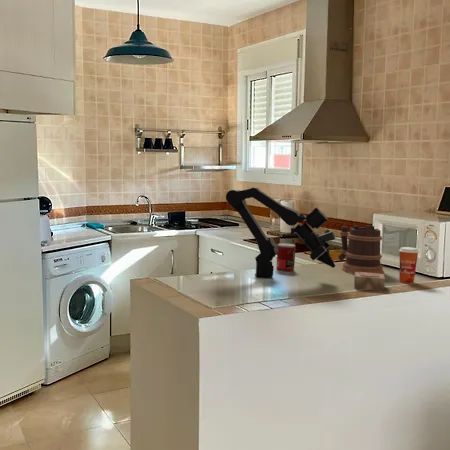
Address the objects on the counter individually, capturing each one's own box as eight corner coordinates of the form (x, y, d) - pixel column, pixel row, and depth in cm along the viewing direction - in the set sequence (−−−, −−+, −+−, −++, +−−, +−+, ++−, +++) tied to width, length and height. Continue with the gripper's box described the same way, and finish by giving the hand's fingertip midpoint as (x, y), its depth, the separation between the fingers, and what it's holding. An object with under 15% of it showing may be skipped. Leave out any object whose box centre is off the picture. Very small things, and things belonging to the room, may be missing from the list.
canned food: (288, 271, 251) (289, 246, 250) (272, 269, 256) (274, 244, 255) (297, 269, 257) (298, 245, 256) (282, 267, 262) (283, 242, 261)
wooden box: (355, 275, 222) (385, 277, 220) (354, 271, 232) (383, 273, 230) (354, 289, 223) (384, 291, 221) (354, 284, 233) (382, 286, 230)
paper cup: (395, 282, 239) (397, 248, 237) (398, 279, 245) (401, 246, 244) (414, 284, 235) (417, 250, 233) (418, 281, 242) (420, 248, 240)
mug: (351, 264, 278) (354, 222, 275) (392, 272, 260) (395, 228, 258) (325, 267, 266) (328, 223, 264) (366, 276, 248) (369, 229, 246)
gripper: (321, 225, 220) (348, 257, 218) (326, 221, 238) (352, 250, 236) (298, 244, 223) (325, 275, 221) (306, 238, 241) (330, 267, 239)
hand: (334, 266), depth 229 cm, fingers closed
